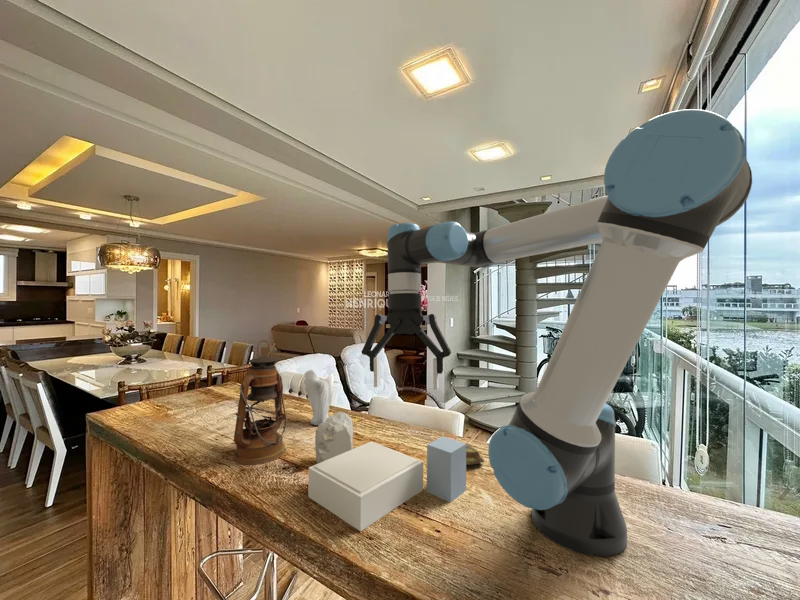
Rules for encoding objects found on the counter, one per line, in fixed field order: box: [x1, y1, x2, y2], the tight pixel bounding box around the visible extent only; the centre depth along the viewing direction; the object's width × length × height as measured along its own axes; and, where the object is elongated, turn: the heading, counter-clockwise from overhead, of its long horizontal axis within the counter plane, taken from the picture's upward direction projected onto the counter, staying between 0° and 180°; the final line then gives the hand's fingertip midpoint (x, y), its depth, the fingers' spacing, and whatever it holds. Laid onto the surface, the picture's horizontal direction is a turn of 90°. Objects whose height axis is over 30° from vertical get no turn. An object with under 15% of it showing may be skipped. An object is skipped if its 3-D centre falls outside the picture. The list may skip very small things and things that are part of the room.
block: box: [426, 436, 467, 503], centre depth 73 cm, size 6×6×10 cm
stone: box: [314, 411, 355, 464], centre depth 87 cm, size 10×5×12 cm, turn 122°
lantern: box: [232, 340, 288, 466], centre depth 90 cm, size 17×13×30 cm
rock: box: [464, 442, 485, 466], centre depth 88 cm, size 12×7×10 cm
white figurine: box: [303, 369, 335, 426], centre depth 113 cm, size 8×8×18 cm
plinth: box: [307, 440, 424, 532], centre depth 72 cm, size 16×18×6 cm
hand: (406, 387), depth 77 cm, fingers open, 13 cm apart
